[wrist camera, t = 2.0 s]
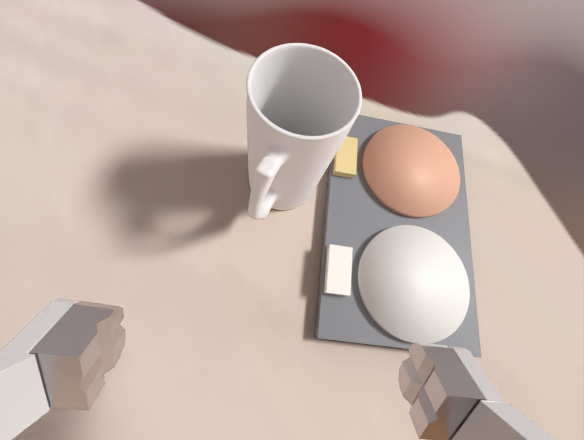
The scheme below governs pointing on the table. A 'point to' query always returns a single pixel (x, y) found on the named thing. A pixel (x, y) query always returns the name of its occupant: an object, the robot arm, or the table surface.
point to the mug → (295, 122)
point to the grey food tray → (397, 240)
